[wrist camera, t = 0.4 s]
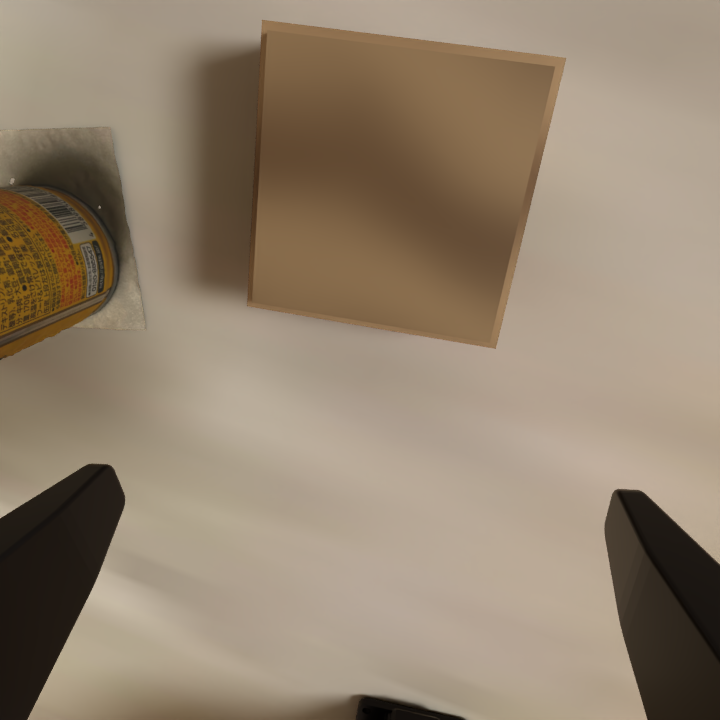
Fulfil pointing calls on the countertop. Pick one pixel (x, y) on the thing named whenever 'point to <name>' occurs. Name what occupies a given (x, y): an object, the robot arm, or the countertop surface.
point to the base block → (394, 178)
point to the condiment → (63, 237)
